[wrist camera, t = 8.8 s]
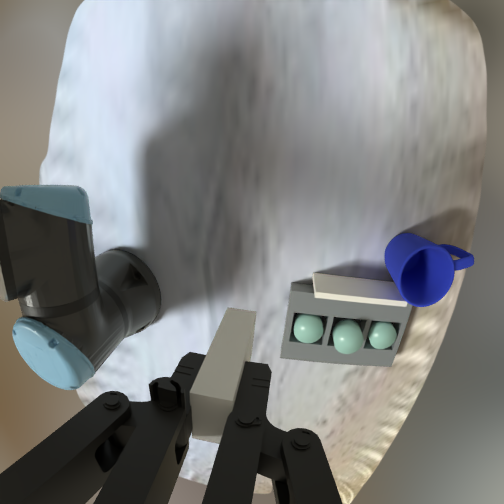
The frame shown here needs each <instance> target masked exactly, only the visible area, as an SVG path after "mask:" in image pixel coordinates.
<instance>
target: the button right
mask: <svg viewBox="0 0 504 504" xmlns="http://www.w3.org/2000/svg"><path fill="white" fill-rule="evenodd" d="M396 336H397V334H396V330H395V328H394V327H393V325H392V323H391V322H386V321H373V320H372V321H371V325H370V328H369V332H368V337H369V340H370V343H371V345H372V346H373V347H374V348H376V349H385V348H387V347H389V346H391V345H392V344H393V343H394V341H395V339H396Z"/></svg>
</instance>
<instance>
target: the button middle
mask: <svg viewBox="0 0 504 504" xmlns="http://www.w3.org/2000/svg"><path fill="white" fill-rule="evenodd" d="M332 334H333V340H334V346H335V348H336V350H337V351H338V352H340V353H343V354H351V353H354V352H356V351H358V350H359V349H360V348H361V346H362V345H363V342H364V338H363V335H362V332H361V329H360V326H359V324H358V323H357V322H356V321H354V320H352V319H345V320H341V321H340V322H338V323H337V324H336V325H335V326H334V328H333V331H332Z"/></svg>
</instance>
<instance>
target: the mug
mask: <svg viewBox="0 0 504 504" xmlns="http://www.w3.org/2000/svg"><path fill="white" fill-rule="evenodd" d="M450 254H452V255H455V256H457V257H459V258H461V259H458V260H453V259H452V257H451V255H450ZM385 264H386V267H387V269H388V271H389V273H390V275H391V277H392V279H393V281H394V283H395V284H396V286H397V288H398V290H399V292H400V294H401V296H402V298H403V299H404V300H405V301H406V302H407V303H409V304H411V305H413V306H417V307H426V306H430V305H432V304H434V303H436V302H438V301H439V300H440V299H442V298H443V297H444V296H445V295H446V293H447V292H448V290H449V289H450V287H451V285H452V282H453V279H454V273H455V270H461V269H464V268H468V267H470V266H472V265H473V264H474V257H473V255H472V254H470V253H468V252H466V251H464V250H462V249H460V248H458V247H455V246H452V245H447V244H441V245H437V244H435V243H433V242H430V241H428V240H426V239H424V238H422V237H420V236H417V235H415V234H412V233H403V234H400V235H398V236H396V237H394V238H393V239H392V240H391V241H390V242H389V244H388V246H387V248H386V251H385Z"/></svg>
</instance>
